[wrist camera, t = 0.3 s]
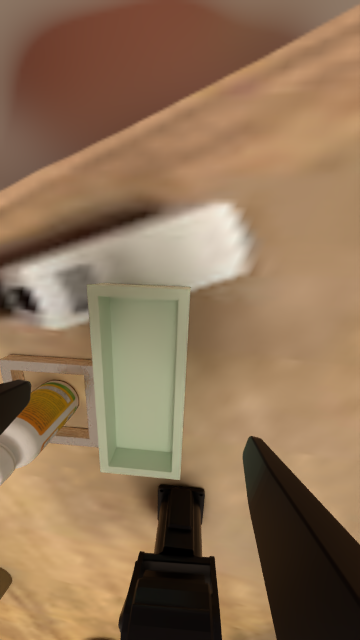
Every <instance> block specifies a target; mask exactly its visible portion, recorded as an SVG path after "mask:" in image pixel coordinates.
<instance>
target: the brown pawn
mask: <svg viewBox="0 0 360 640" xmlns="http://www.w3.org/2000/svg"><path fill="white" fill-rule="evenodd" d="M11 583H12V578H11V576H10V574H9V573H8V572H7V571H5V570H4V569H2V568H0V599H1V598H2V596H3V595H4V593H5V592H6V590H7V589H8V588H9V586H10V585H11Z"/></svg>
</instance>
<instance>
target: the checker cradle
mask: <svg viewBox="0 0 360 640" xmlns="http://www.w3.org/2000/svg"><path fill="white" fill-rule="evenodd" d="M0 368H1V373H2V378H3V383H6V382H10V381H14V380H18V379H20V380H24V376H23V371H35V372H49V373H63V374H77V375H84V380H85V391H86V403H87V415H88V426H89V429H83V428H72V427H62V428H61V429H60V430H59V431H58V432H57V433H56V435H55V436H54V437H53V438H52V439H51V440H50V442H49V443H56V444H67V445H78V446H88V447H99V444H98V431H97V417H96V404H95V390H94V376H93V363H92V360H85V359H71V358H56V357H41V356H26V355H12V354H11V355H8V356H6V357H4V358H1V359H0Z"/></svg>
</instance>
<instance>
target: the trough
mask: <svg viewBox="0 0 360 640" xmlns="http://www.w3.org/2000/svg"><path fill="white" fill-rule="evenodd" d="M190 288H191V287H176V286H155V285H133V284H111V283H101V284H89V285H87V295H88V308H89V322H90V336H91V349H92V363H93V376H94V390H95V404H96V417H97V431H98V444H99V458H100V472H104V473H114V474H124V475H135V476H145V477H155V478H165V479H175V480H180V472H181V455H182V437H183V418H184V400H185V381H186V363H187V344H188V325H189V307H190Z"/></svg>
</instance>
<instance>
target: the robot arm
mask: <svg viewBox="0 0 360 640" xmlns="http://www.w3.org/2000/svg"><path fill="white" fill-rule="evenodd" d="M30 395H31V383H30V382H29V381H25V380H20V379H18V380H14V381H10V382H6V383H2V384H0V435H1V434H2V433H3V432H4V431H5V430H6V429H7V427H8V426H9V425H10V424H11V423H12V422H13V421H14V420H15V419H16V417H17V416H18V415H19V414H20V413H21V412H22V411H23V410H24V409H25V407H26V406H27V405H28V403H29V402H30ZM243 465H244V473H245V481H246V489H247V497H248V504H249V510H250V515H251V520H252V525H253V529H254V534H255V539H256V544H257V548H258V553H259V558H260V562H261V567H262V572H263V577H264V581H265V586H266V591H267V596H268V600H269V605H270V610H271V614H272V619H273V624H274V629H275V633H276V638H277V640H360V544H359V543H358V542H357V541H356V540H355V539H354V538H353V537H352V536H351V535H350V534H349V533H348V532H347V530H346V529H345V528H344V527H343V526H342V525H341V524H340V523H339V522H338V521H337V520H336V519H335V518H334V516H333V515H332V514H331V513H330V512H329V511H328V510H327V509H326V508H325V507H324V506H323V505H322V504H321V503H320V501H319V500H318V499H317V498H316V497H315V496H314V495H313V494H312V493H311V492H310V491H309V490H308V489H307V487H306V486H305V485H304V484H303V483H302V482H301V481H300V480H299V479H298V478H297V477H296V476H295V475H294V474H293V472H292V471H291V470H290V469H289V468H288V467H287V466H286V465H285V464H284V463H283V462H282V461H281V460H280V459H279V457H278V456H277V455H276V454H275V453H274V452H273V451H272V450H271V449H270V448H269V447H268V446H267V445H266V443H265V442H264V441H263V440H262V439H260V438H257V437H253V436H250V437H249V438H248V441H247V443H246V446H245V448H244V451H243ZM204 497H205V492H204V490H203V489H197V488H187V487H177V486H167V485H160V486H159V488H158V528H157V535H156V543H155V550H154V554H153V553H145V552H142V551H140V553H139V556H138V560H137V561H136V562H135V567H134V572H133V575H132V579H131V583H130V587H129V591H128V594H127V597H126V600H125V603H124V606H123V608H122V611H121V614H120V618H119V624H118V626H119V629H120V632H121V640H222V634H221V620H220V609H219V598H218V588H217V578H216V568H215V558H214V556H210V557H202V539H201V525H202V518H203V508H204Z"/></svg>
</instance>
